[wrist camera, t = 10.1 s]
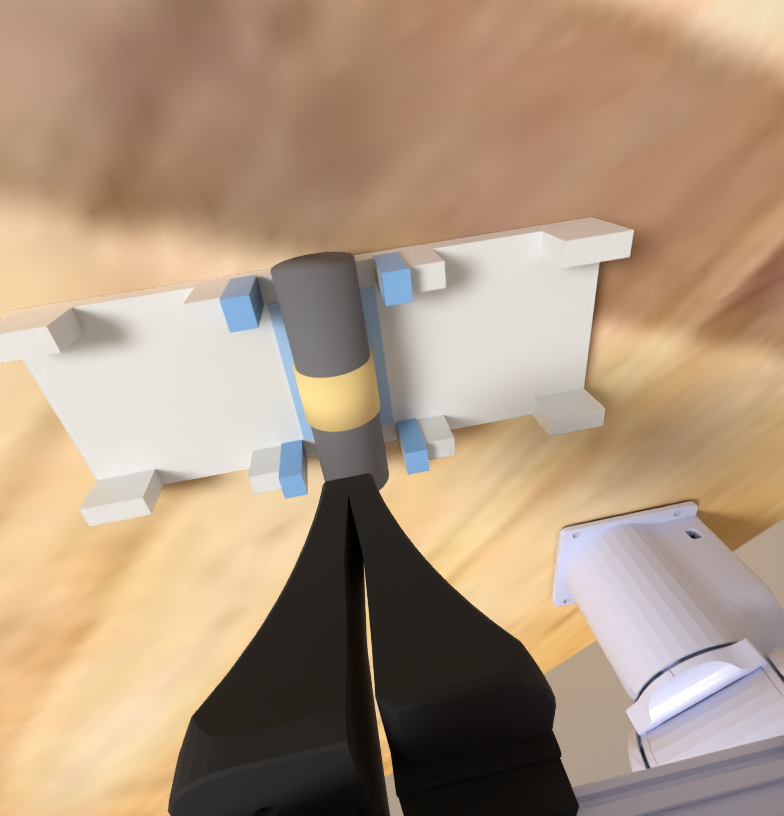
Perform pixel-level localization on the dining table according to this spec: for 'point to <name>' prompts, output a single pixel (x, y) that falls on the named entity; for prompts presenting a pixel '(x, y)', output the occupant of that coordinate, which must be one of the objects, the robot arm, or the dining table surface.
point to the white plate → (273, 362)
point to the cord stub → (333, 362)
